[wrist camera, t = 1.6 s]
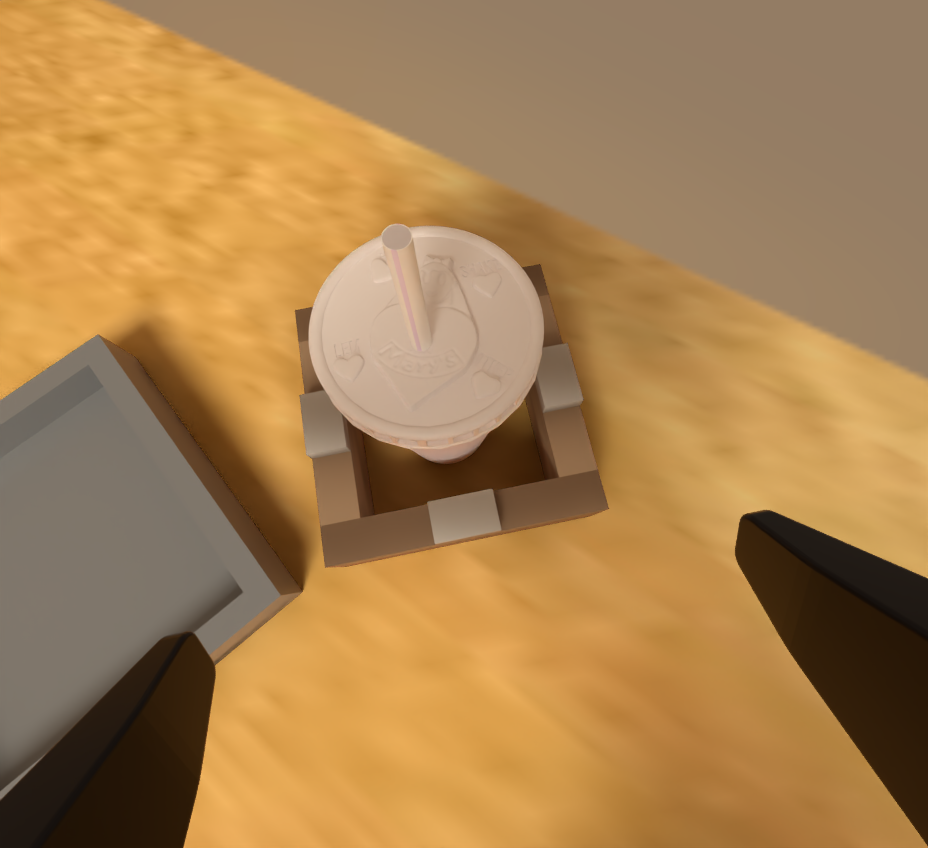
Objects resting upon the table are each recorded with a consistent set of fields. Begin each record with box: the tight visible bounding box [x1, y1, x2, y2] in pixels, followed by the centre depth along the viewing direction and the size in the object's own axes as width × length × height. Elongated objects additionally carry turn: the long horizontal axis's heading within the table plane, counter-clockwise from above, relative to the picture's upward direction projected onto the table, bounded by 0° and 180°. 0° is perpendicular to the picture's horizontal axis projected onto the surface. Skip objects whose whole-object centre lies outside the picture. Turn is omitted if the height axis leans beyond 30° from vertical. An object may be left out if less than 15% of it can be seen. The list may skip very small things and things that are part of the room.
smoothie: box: [309, 224, 544, 464], centre depth 15 cm, size 6×6×14 cm
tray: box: [0, 335, 303, 800], centre depth 20 cm, size 14×14×2 cm
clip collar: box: [295, 264, 609, 568], centre depth 20 cm, size 11×11×4 cm
